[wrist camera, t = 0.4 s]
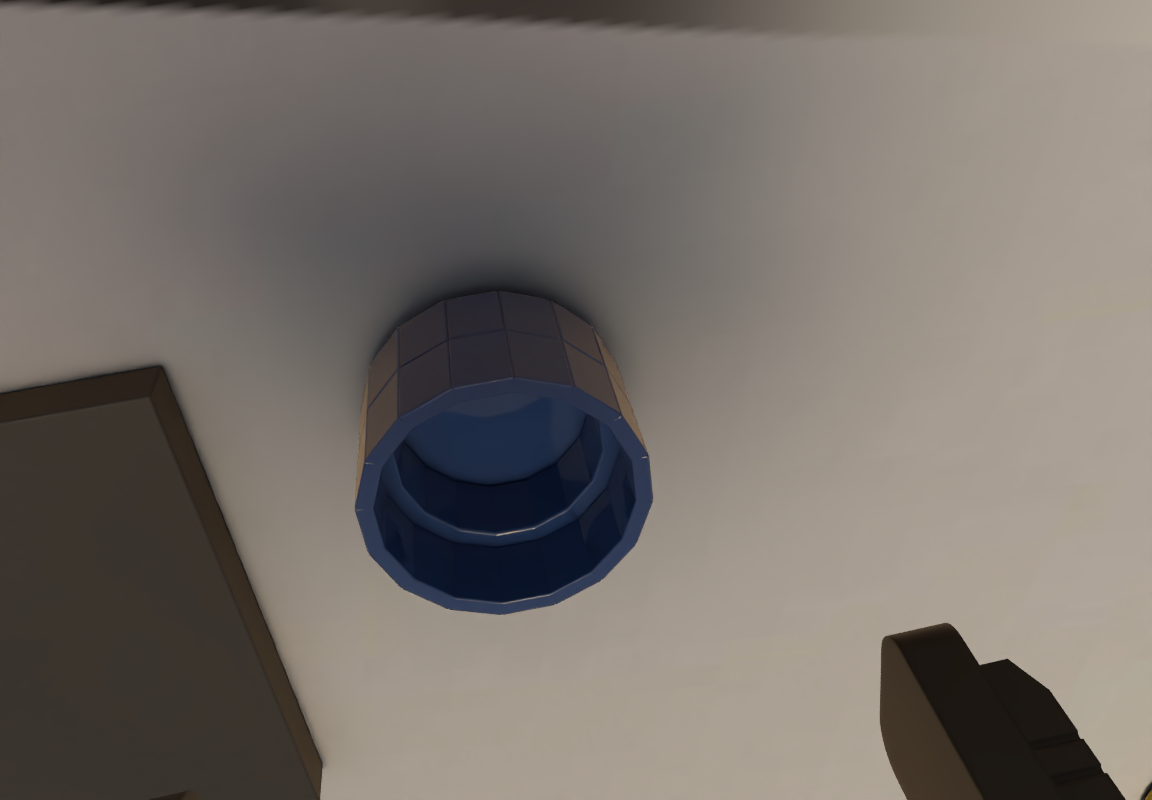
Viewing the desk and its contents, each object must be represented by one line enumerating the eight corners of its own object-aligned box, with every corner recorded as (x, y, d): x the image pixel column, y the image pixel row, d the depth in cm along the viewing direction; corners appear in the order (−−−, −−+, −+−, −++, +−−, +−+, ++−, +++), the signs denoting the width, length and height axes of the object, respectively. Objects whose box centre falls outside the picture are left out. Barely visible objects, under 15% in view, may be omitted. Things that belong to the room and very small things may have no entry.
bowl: (335, 307, 24) (323, 410, 20) (602, 261, 24) (639, 353, 21) (394, 515, 27) (393, 637, 24) (626, 472, 28) (662, 584, 24)
